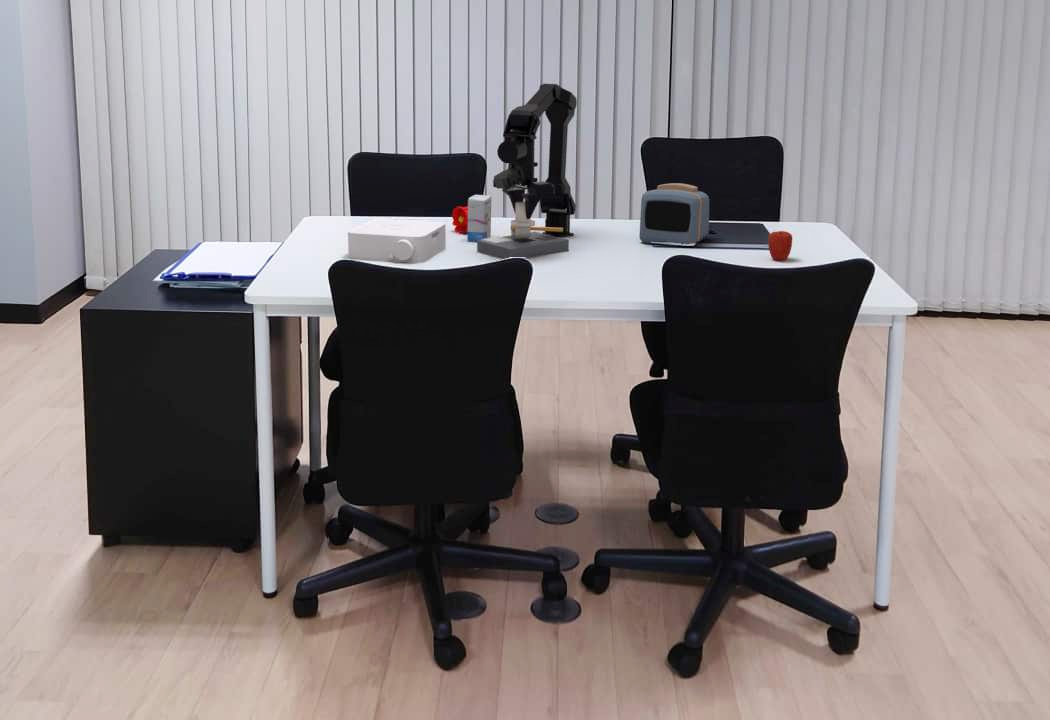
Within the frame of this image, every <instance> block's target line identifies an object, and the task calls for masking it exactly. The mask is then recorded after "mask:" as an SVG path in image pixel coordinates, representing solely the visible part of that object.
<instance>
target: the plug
mask: <svg viewBox="0 0 1050 720" xmlns="http://www.w3.org/2000/svg"><path fill="white" fill-rule="evenodd" d="M514 215H515V219H513V220H511V221H510V226H511V225H512V226H515V237H518V238H529V237H530V232H531V230H530V227H535V226H536V221H535V220H533V219H532V217H531V218H530V219H526V210H525V201H523V202H516V207H515V212H514Z"/></svg>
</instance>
